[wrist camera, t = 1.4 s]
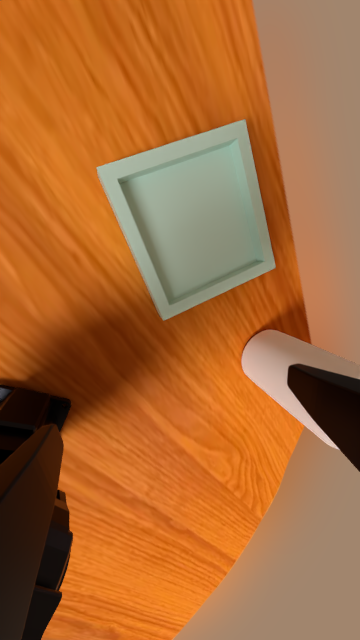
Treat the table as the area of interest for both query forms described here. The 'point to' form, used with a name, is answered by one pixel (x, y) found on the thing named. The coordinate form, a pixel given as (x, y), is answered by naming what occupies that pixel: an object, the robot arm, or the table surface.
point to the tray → (192, 216)
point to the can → (272, 368)
